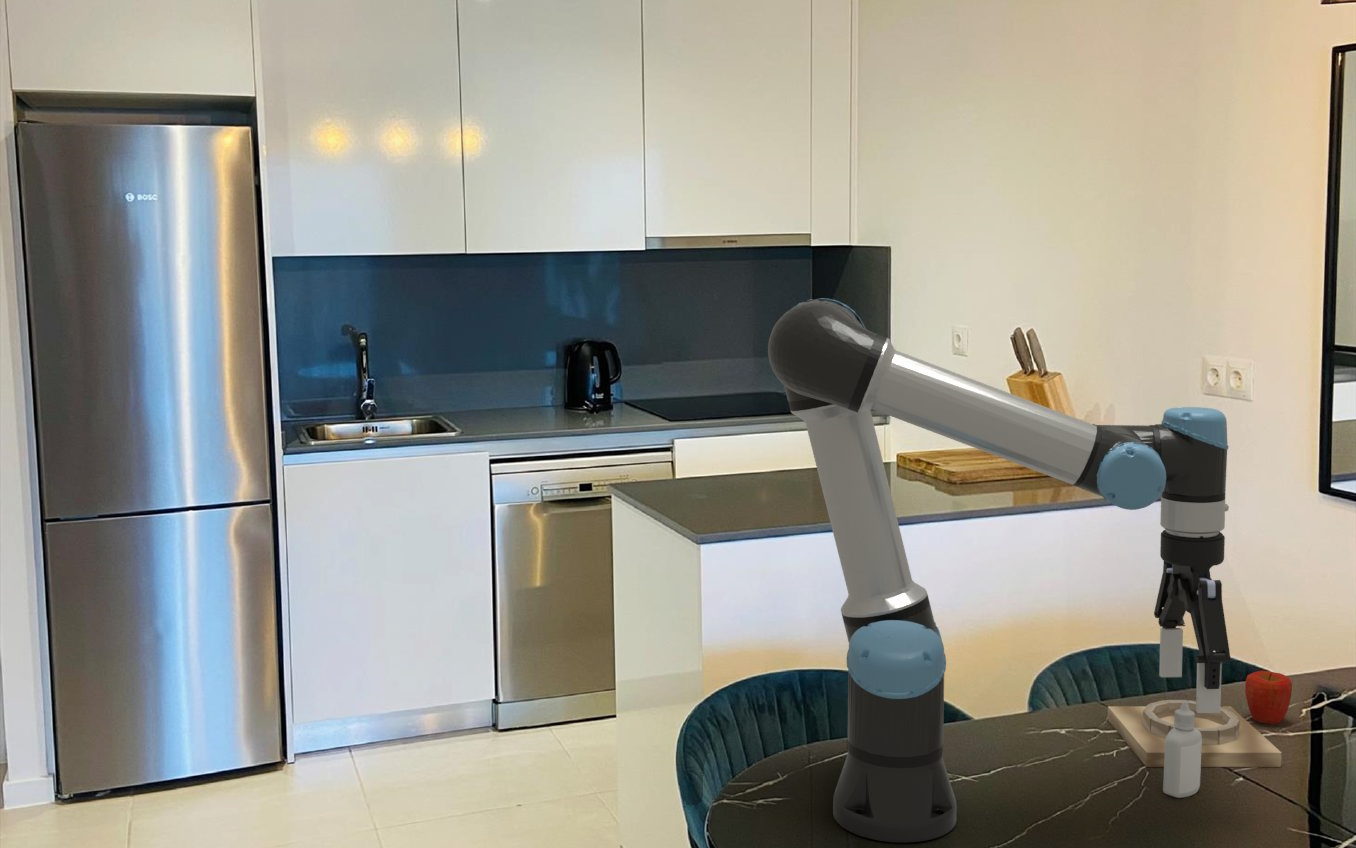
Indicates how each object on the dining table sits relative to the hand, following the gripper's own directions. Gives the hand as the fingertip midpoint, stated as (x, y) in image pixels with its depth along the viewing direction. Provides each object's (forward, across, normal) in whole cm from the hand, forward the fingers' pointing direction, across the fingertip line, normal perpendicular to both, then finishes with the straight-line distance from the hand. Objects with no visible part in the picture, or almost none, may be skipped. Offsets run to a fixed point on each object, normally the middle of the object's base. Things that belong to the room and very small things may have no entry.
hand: (1188, 693), depth 169 cm
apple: (+14, +25, -20) cm, 35 cm away
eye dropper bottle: (+13, 0, +1) cm, 13 cm away
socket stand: (+13, +17, -6) cm, 22 cm away
